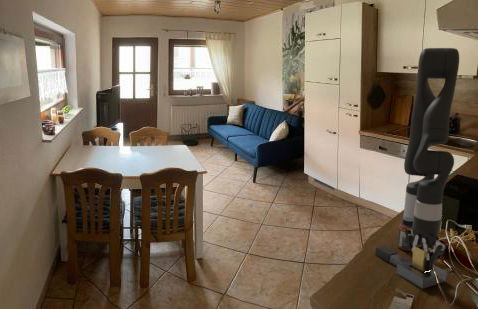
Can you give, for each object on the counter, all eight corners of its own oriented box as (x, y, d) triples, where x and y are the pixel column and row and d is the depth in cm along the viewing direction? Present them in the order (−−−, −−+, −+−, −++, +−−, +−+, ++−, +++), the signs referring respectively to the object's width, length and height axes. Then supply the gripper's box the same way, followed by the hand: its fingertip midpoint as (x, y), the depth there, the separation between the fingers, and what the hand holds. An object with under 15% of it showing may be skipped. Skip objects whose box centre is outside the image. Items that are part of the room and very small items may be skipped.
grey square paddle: (390, 250, 142) (391, 242, 141) (445, 281, 122) (446, 271, 121) (368, 256, 138) (369, 247, 137) (422, 288, 118) (423, 278, 117)
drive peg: (420, 266, 126) (423, 243, 124) (431, 272, 123) (433, 248, 121) (411, 269, 125) (413, 245, 123) (421, 275, 121) (424, 251, 119)
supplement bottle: (400, 242, 148) (403, 214, 146) (416, 247, 145) (420, 218, 142) (394, 248, 144) (397, 219, 141) (412, 253, 140) (415, 223, 138)
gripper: (457, 221, 115) (450, 274, 119) (417, 205, 127) (412, 254, 131) (439, 225, 112) (432, 280, 116) (400, 209, 124) (395, 259, 128)
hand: (421, 266), depth 123 cm, fingers closed on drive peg, 4 cm apart
